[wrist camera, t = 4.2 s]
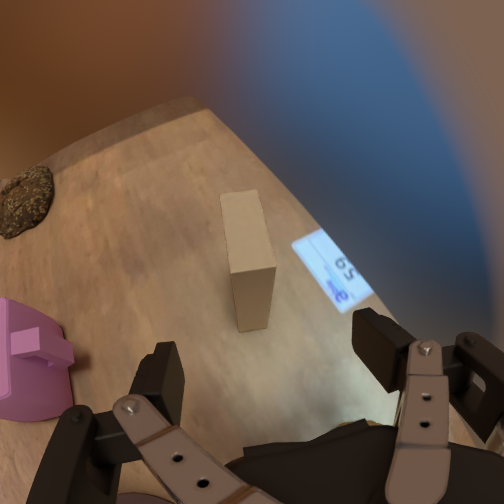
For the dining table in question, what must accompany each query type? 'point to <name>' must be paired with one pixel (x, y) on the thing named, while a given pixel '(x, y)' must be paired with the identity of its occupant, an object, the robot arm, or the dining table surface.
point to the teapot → (32, 364)
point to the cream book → (248, 258)
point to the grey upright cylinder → (139, 499)
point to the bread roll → (25, 200)
